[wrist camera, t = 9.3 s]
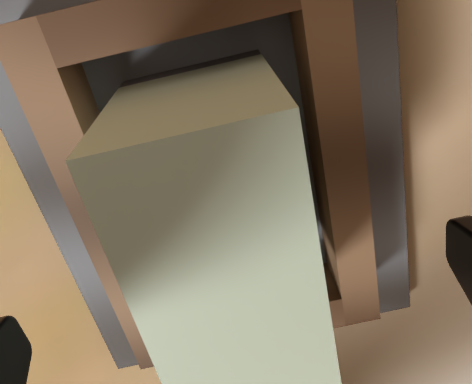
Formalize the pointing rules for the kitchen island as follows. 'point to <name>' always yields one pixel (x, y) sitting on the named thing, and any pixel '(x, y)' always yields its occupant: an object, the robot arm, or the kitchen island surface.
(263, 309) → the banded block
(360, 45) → the socket
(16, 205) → the kitchen island surface
